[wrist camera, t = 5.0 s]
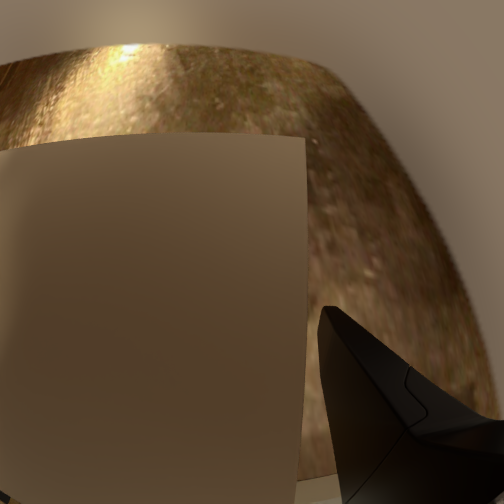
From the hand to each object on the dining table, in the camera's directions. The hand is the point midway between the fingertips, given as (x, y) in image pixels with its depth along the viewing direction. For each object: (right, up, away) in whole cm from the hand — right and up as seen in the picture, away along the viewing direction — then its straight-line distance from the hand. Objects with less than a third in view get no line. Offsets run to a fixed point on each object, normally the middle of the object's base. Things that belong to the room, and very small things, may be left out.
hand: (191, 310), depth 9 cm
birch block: (0, -4, +6) cm, 7 cm away
